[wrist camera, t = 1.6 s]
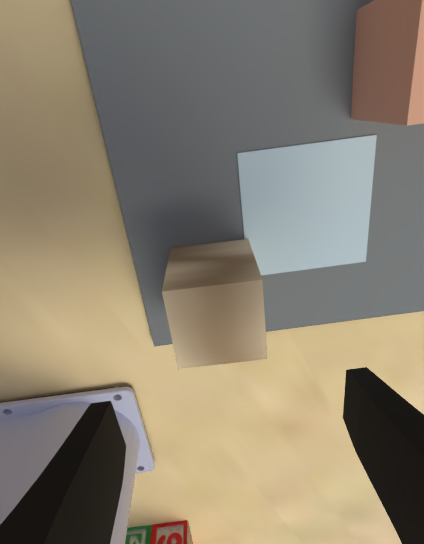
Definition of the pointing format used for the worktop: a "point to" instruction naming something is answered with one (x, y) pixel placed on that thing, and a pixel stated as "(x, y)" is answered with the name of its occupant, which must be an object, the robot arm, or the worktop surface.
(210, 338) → the maple block
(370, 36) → the terracotta block
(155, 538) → the stack of blocks
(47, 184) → the worktop surface
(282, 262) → the mat
